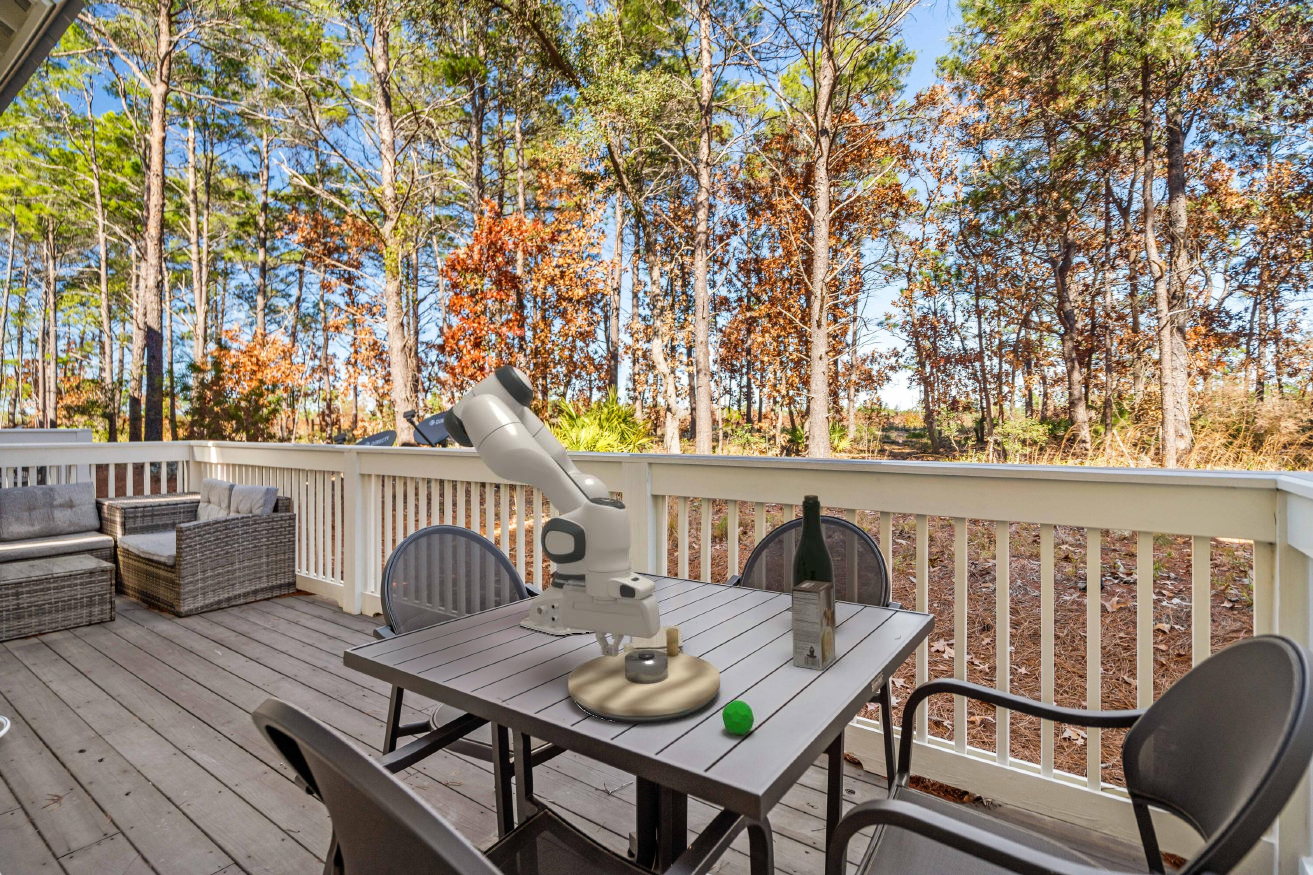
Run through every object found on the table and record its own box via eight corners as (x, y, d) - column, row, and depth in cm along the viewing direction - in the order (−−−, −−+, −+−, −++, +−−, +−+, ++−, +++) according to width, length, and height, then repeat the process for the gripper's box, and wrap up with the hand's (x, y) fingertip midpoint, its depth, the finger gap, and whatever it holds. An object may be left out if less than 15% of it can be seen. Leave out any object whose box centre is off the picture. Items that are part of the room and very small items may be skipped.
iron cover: (616, 679, 115) (616, 657, 115) (638, 665, 122) (638, 644, 122) (655, 686, 111) (655, 663, 111) (675, 672, 118) (675, 650, 118)
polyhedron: (720, 726, 102) (719, 696, 102) (750, 724, 103) (749, 695, 103) (725, 740, 97) (724, 709, 97) (756, 739, 98) (756, 708, 98)
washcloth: (630, 661, 135) (629, 646, 135) (631, 636, 153) (630, 623, 153) (685, 659, 135) (684, 645, 135) (679, 634, 153) (679, 621, 153)
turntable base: (545, 707, 111) (544, 684, 111) (619, 660, 134) (619, 641, 134) (679, 735, 99) (679, 710, 99) (735, 678, 123) (735, 658, 123)
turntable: (536, 698, 110) (536, 661, 110) (616, 650, 135) (616, 620, 135) (682, 728, 98) (682, 686, 98) (740, 669, 123) (740, 636, 123)
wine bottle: (844, 634, 149) (841, 496, 150) (803, 638, 147) (800, 497, 147) (823, 622, 159) (820, 492, 160) (785, 626, 157) (782, 494, 158)
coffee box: (806, 653, 137) (805, 579, 137) (836, 658, 133) (834, 582, 134) (792, 666, 129) (790, 587, 129) (823, 671, 126) (821, 591, 126)
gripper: (554, 582, 122) (555, 653, 122) (648, 591, 113) (649, 667, 113) (572, 575, 128) (573, 643, 128) (662, 583, 119) (664, 656, 119)
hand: (609, 655), depth 120 cm, fingers closed
